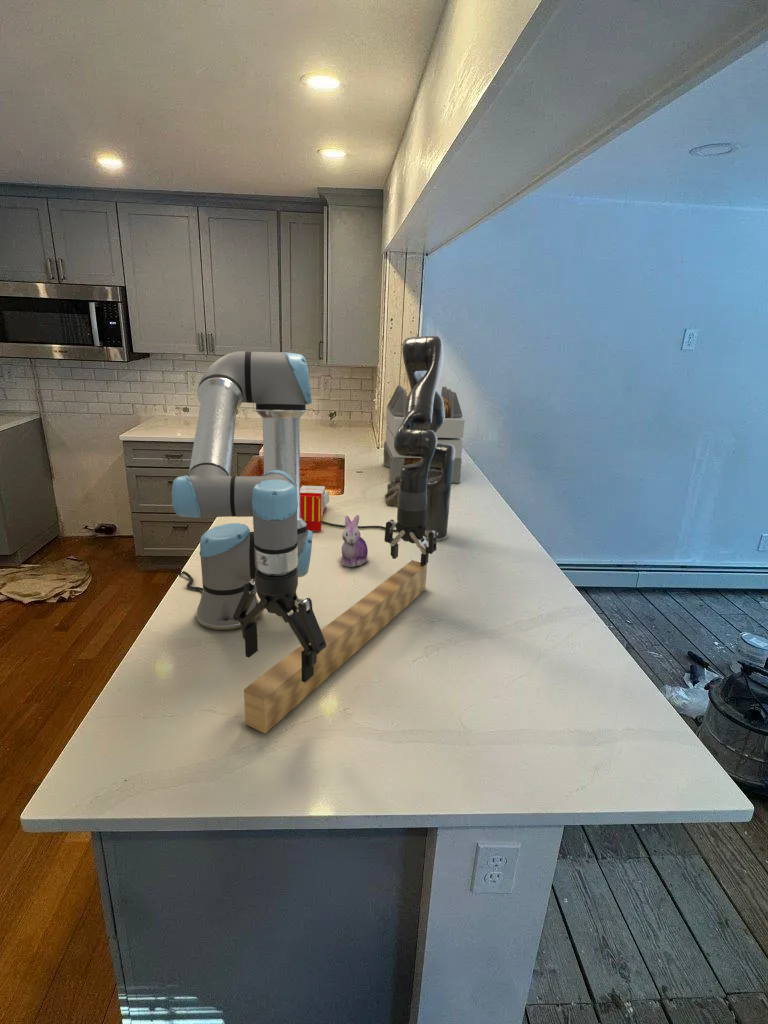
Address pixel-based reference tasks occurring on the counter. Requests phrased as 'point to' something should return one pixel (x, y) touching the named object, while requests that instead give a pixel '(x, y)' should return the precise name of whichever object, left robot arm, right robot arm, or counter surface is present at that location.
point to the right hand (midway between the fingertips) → (409, 561)
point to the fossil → (393, 492)
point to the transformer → (445, 434)
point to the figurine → (353, 544)
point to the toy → (313, 505)
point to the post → (331, 648)
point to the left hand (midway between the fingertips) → (279, 665)
